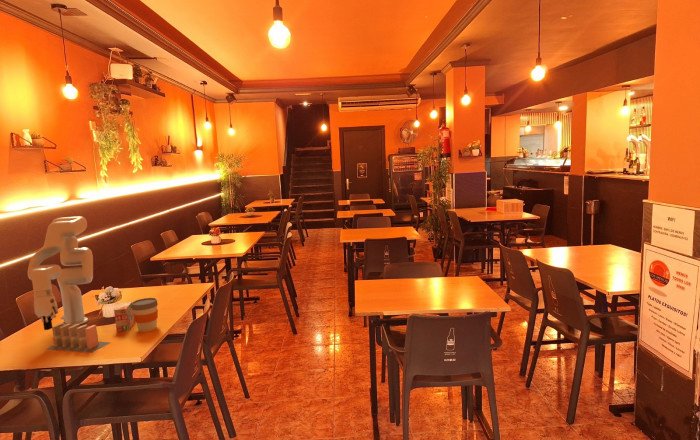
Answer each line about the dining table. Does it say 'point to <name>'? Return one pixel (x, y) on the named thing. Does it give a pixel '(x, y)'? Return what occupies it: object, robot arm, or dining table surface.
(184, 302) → the dining table surface
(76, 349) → the slate mat
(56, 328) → the cream domino
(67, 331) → the cream domino
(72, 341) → the cream domino
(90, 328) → the terracotta domino
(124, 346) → the dining table surface
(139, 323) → the reusable coffee cup
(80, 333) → the cream domino
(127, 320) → the stack of blocks
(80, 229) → the robot arm
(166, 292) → the dining table surface
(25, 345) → the dining table surface
